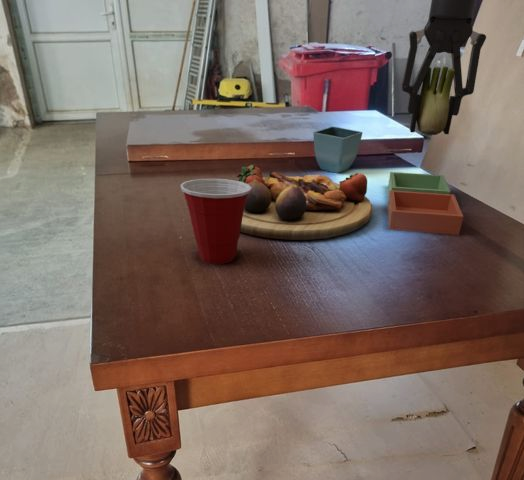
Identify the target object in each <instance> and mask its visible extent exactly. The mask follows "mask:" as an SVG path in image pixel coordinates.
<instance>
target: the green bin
mask: <svg viewBox="0 0 524 480" xmlns="http://www.w3.org/2000/svg"><path fill="white" fill-rule="evenodd" d="M390 190H394V191H408V192H423V193H437V194H451V190H450V187H449V184H448V182H447V180H446V177H445V175H444V174H429V173H428V174H427V173H413V172H395V171H390V172H389V178H388V185H387V191H388V195H389V193H390Z"/></svg>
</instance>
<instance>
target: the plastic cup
mask: <svg viewBox="0 0 524 480" xmlns="http://www.w3.org/2000/svg"><path fill="white" fill-rule="evenodd" d="M179 186H180V189H181V192H183V194H184V199H185V202H186V204H187V209H188V213H189V217H190V223H191V227H192V230H193V235H194V239H195V242H196V246H197V250H198V251H197V252H198V255H199V257H200V260H202V262H204V263H208V264H210V265H211V264H213V265H222V264H227V263H230V262H232V261H233V260H234V259H235V258H236V255H237V252H238V251H237V250H238V244H239V240H240V235H241V232H240V230H241V224H242V218H243V212H244V207H245V203H246V200H247V196H248V194H249V192H250V191H251V188H252V187H251V186H250V185H249V184H246V183H243V182H240V181H238V180H234V179H226V178H197V179H191V180H187V181H183V182H182V183H181V184H180V185H179Z"/></svg>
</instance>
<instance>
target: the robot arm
mask: <svg viewBox="0 0 524 480" xmlns="http://www.w3.org/2000/svg"><path fill="white" fill-rule="evenodd" d="M476 2H477V0H431V2H430V8H429V14H428V20H427V23H426V24H425V26H424V27H423V29H419V30H416V31H415V30H412V31H410V32H409V33H408V39H409V40H408V41H409V49H408V54H407V57H406V58H407V59H406V62H405V68H404V73H403V78H402V83H401V90H402V92H404V93H407V94H409V98H408V103H407V113H408V114H411V121H410V125H409V132H410V133H415V132H416V126H417V115H418V109H419V104H420V98H421V96H420V93H419V91H420V90H421V87H422V84H423V80H424V78H425V76H426V74H427V71H428V69H429V67H431V66H432V64H433V63H432V62H433V60H434V59H435V57H436V55H437V54H442V53H446V54H450V57H451V64H452V69H454V70H455V74H454V78H453V90H454V95H450V97H449V112H448V119H447V124H446V127H445V129H444V130H443V131H442V133H443V134H444V135H449V134H450V129H451V124H452V119H453V116H458V114H459V113H460V109H461V104H462V100H463V98H464V97H465V96H470V95H472V94H474V92H475V85H476V80H477V74H478V68H479V63H480V62H479V61H480V55H481V50H482V48H483V46H484V43H485V42H486V41H487V40H486V39H487V35H486V34H484V33H482V32H481V33H479V32H477V31H474V30H473V23H472V22H473V21H472V20H473V17H474V13H475V7H476ZM423 37H425V39H426V41H427V44H428V46H429V47H428V49H427V51H426V54H425V56H424V59H423V61H422V63H421V66H420V68H419V70H418V73H417V74H416V77H415V79H414V81H413V83H412V85H410V84H411V80H412V75H413V70H414V67H415V61H416V55H417V51H418V45H419V44H421V43H422V39H423ZM469 39H470V45H471V46H472V47H471V50H470V56H469V62H468V68H467V69H468V70H467V75H466V81H465V87H463V72H462V60H461V57H462V56H461V47H462V46H464V44H465V43H466V42H467V41H468V40H469ZM418 93H419V94H418Z"/></svg>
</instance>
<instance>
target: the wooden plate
mask: <svg viewBox="0 0 524 480" xmlns="http://www.w3.org/2000/svg"><path fill="white" fill-rule="evenodd" d="M257 165H258V164H253V163H252V164H250V165H248V166H241V168H240V169H241V172H239V173H238V175H237V176H236V178H237V179H238V180H237V181H240V182H243V183H246V184H249V185H250V186H251V187H252V188H251V191H250V192H249V194H248V196H247V200H246V203H245V207H244V212H243V218H242V224H241V230H240V233H243V234H247V235H250V236H255V237H261V238H267V239H277V240H278V239H279V240H288V241H289V240H290V241H305V240H306V241H307V240H321V239H327V238H333V237H338V236H342V235H346V234H349V233H352V232H354V231H356V230H358V229H360V228H362V227H363V226H365V225H366V224H367V223H368V222H369V221H370V219H371V217H372V216H373V210H374V209H373V204H372V203H371V201H370V199H369V198H368V197H367V196H366V194H367V191H368V178H367V176H366V175H365V174H364V173H358V172H356V173H355V174H349V176H347V177H345V179H343V180H341V181H339V183H338V182H334V181H333V180H332V179H331V178H330V177H329V176H328V175H322V174H320V173H318V174H307V175H304V176H299V175H297V176H296V175H295V176H291V175H284V174H281V173H279V172H277V171H270V172H269V174H268V175H269V176H266V177H263V172H262V170H261V169H260V168H259V166H258V167H257Z"/></svg>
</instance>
